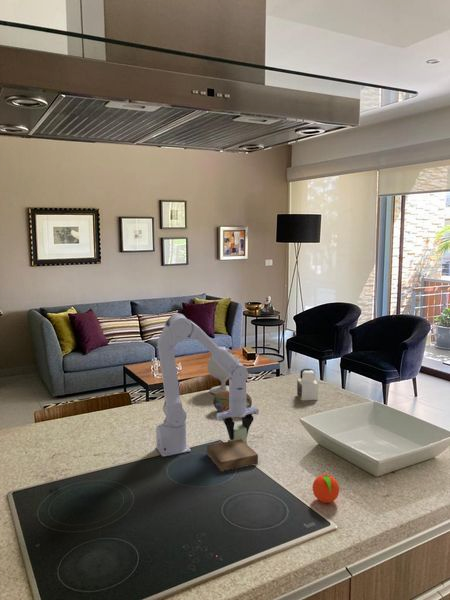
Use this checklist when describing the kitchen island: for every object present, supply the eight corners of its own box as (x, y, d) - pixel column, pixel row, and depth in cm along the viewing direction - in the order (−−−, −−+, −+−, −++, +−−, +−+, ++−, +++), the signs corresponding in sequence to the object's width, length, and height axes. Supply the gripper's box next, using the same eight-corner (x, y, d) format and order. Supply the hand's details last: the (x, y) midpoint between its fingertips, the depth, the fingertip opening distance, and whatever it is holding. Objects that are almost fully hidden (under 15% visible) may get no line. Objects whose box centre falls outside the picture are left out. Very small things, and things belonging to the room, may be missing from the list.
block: (234, 445, 165) (234, 430, 164) (229, 439, 169) (229, 425, 168) (246, 442, 166) (246, 428, 165) (241, 437, 170) (241, 423, 169)
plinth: (221, 471, 147) (221, 462, 146) (207, 454, 158) (206, 445, 157) (257, 463, 151) (257, 454, 151) (241, 447, 162) (241, 439, 162)
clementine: (343, 509, 127) (344, 483, 126) (317, 511, 126) (317, 485, 125) (334, 493, 135) (335, 468, 134) (309, 494, 134) (309, 469, 133)
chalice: (242, 395, 212) (242, 361, 210) (210, 397, 210) (209, 363, 208) (235, 385, 226) (235, 353, 224) (205, 387, 223) (204, 354, 221)
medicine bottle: (296, 395, 212) (297, 367, 210) (313, 394, 213) (313, 367, 211) (301, 400, 205) (301, 372, 203) (318, 400, 206) (318, 372, 204)
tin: (213, 411, 194) (212, 391, 193) (215, 409, 197) (215, 388, 196) (250, 415, 190) (250, 394, 189) (252, 412, 193) (252, 391, 192)
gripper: (222, 405, 159) (222, 445, 161) (262, 399, 164) (262, 438, 166) (214, 398, 165) (214, 437, 167) (253, 392, 171) (253, 430, 173)
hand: (238, 437), depth 167 cm, fingers closed on block, 4 cm apart
